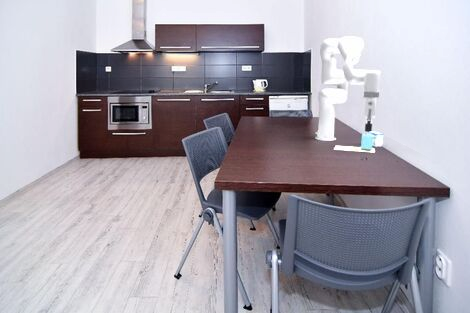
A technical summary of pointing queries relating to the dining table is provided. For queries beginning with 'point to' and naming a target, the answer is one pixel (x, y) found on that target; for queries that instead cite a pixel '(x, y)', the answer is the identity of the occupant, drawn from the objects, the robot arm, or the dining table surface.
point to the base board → (353, 149)
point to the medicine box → (376, 138)
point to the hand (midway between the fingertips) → (368, 131)
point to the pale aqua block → (367, 142)
